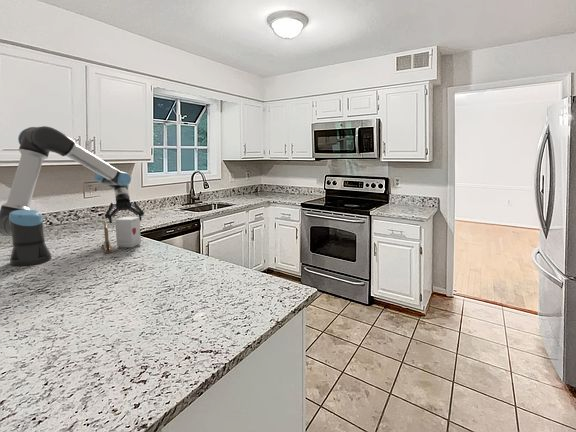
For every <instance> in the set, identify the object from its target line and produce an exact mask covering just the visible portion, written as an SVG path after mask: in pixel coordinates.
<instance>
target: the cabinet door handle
mask: <svg viewBox="0 0 576 432" xmlns="http://www.w3.org/2000/svg"><path fill="white" fill-rule="evenodd" d="M103 228H104V229H103V231H104V241H103V250H104V254H112V253H113V251H112V246H111V243H110V242H111V241H110V240H109V231H108V223H107V221H106V220H105V221H104V222H103Z"/></svg>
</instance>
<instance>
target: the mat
mask: <svg viewBox="0 0 576 432" xmlns="http://www.w3.org/2000/svg"><path fill="white" fill-rule="evenodd" d="M139 247H141V244H138V245H136V246H134V247H118V248H119V249H120V250H122V249H132V248H133V249H134V248H139Z"/></svg>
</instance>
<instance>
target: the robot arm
mask: <svg viewBox="0 0 576 432" xmlns="http://www.w3.org/2000/svg"><path fill="white" fill-rule="evenodd" d="M17 140H18V143H19V148H18V151H19V153H20V159H19V162H18V164H17V165H18V166H17V169H16V171H15V175H14V178H13V182H12V185H11V188H10V192H9V195H8V198H7V201H6V202H5V203H3V204H2V205H1V206H0V234H1V235H2V236H3V235H4V236H8V237H11V238H12V239H11V240H12V241H11V242H12V250H11V254H10V257H9V262H10V266H14V267H16V266H17V267H21V266H31V265H38V264H42V263H46V262H48V261H50V260H51V259H52V254H51V252H50V250H49V248H48V246H47V244H46V241H45V239H46V238H45V233H44V223H43V221H44V220H43V217H42V216H43V215H42V212H40V211H39V210H36V209H31V208H30V206H31V202H32V198H33V195H34V192H35V188H36V185H37V181H38V178H39V175H40V171H41V168H42V165H43V161H44V160H47V159H48V158H49V154H50V152H52V153H55V154H58V155H60V156H62V157H67V158H69V159H70V160H73V161H75V162H76V163H78V164H80V165H81V166H83V167H85V168H87V170H88V169H89V170H90V171H92V172H94V173H95V174H94V175H93V177H94V180H95V181H96V182H98V183H99V184H103V185H105V186H106V187H110V188H112V189H114V197H115V203H113V202H110V205H109V208H107V209H108V210H107V211H106V213H105V214H104V218H105V219H108V222H109V224H111V227H112V228H111V229H115V224H114V217H115V216H116V215H117V214H118V213H119V212H120V211H129V212H131V213H133V214H134V215H136V217H139V220H140V222H141V221H142V217H143V216H144V214H145V213H144V210H142V208H141V207H139V205H138V204H137V202H136V201H133V202H131V199H130V193H129V184H131V180H132V177H131V175H130V173H128V172H124V171H120V170H119V169H118V168H116V167H114V166H112V165H111V164H109V163H108V162H106V161H104V160H103V159H101V158H100V157H98V156H96V155H94V154H93V153H92V152H90V151H88V150H87V149H84V148H83V147H82V146H80V145H79V144H77V143H76V141H75V140H74V139H73V138H71V137H70V136H68V135H66V134H65V133H63V132H62V131H60V130H57V129H55V128H54V127H51V126H45V125H44V126H43V125H42V126H37V127H36V126H30V127H27V128H25V129H23V130H22V131H20V132H19V135H18V137H17ZM114 208H115V209H114ZM113 209H114V210H113Z"/></svg>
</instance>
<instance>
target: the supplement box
mask: <svg viewBox="0 0 576 432" xmlns="http://www.w3.org/2000/svg"><path fill="white" fill-rule="evenodd" d="M114 222H115V224H114V225H115V234H116V235H115V238H116V247H117V248H119V247H133V248H135V247H134V246H136V245H138V244H140V245H141V244H142V239H141V238H142V237H141V221H140V220H139V217H137V216H123V217H119V218H115V219H114Z"/></svg>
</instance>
